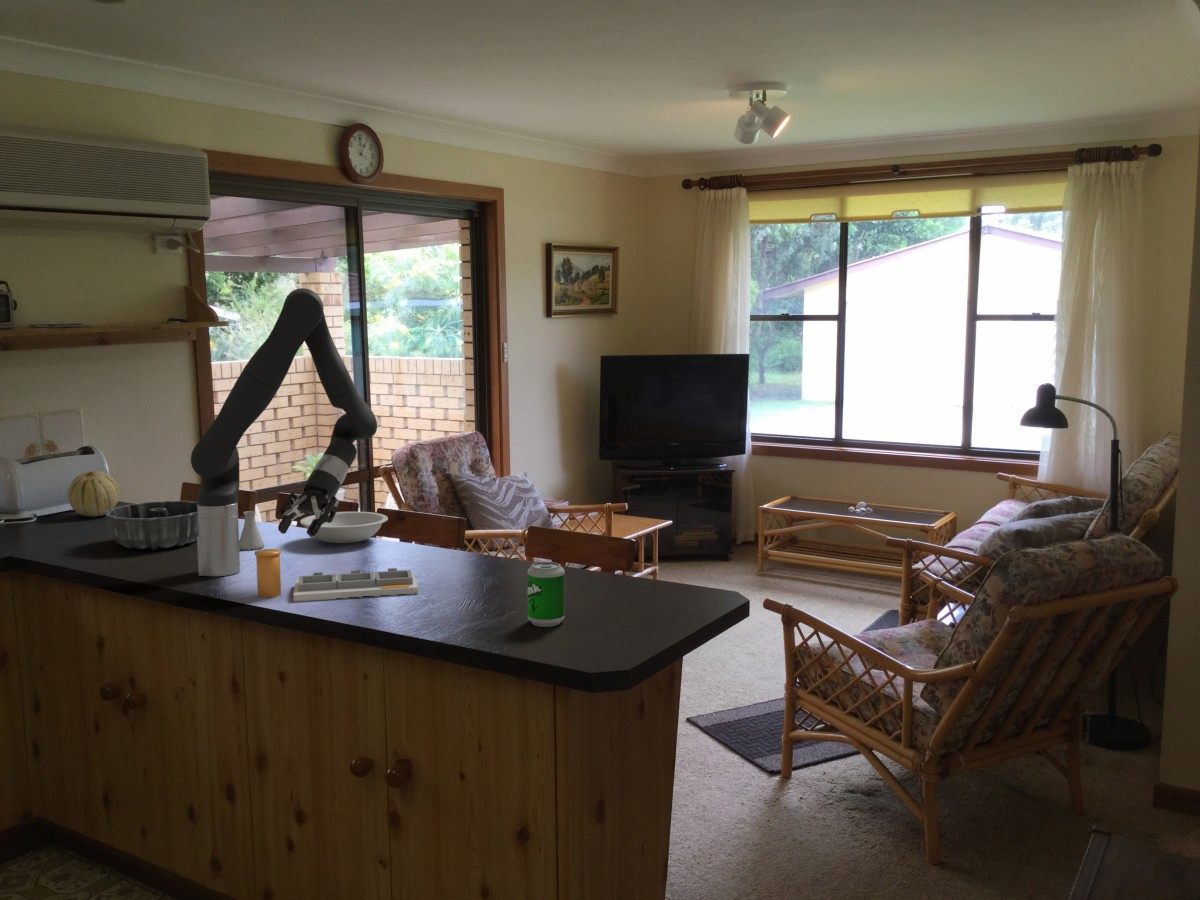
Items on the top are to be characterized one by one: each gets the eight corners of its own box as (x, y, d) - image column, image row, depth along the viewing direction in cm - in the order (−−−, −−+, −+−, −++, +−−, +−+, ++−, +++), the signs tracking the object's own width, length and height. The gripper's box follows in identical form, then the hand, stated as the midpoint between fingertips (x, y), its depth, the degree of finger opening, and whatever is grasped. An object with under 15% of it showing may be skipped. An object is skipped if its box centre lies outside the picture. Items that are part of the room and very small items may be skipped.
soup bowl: (381, 531, 295) (380, 509, 294) (394, 547, 272) (394, 523, 272) (297, 536, 286) (296, 514, 285) (304, 553, 264) (303, 529, 263)
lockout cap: (255, 599, 219) (253, 554, 218) (257, 592, 224) (255, 549, 223) (281, 597, 220) (280, 553, 219) (283, 591, 226) (281, 548, 224)
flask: (235, 551, 267) (234, 514, 265) (238, 545, 273) (236, 510, 272) (264, 550, 268) (262, 513, 267) (265, 544, 275) (264, 509, 274)
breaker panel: (293, 601, 217) (293, 587, 216) (296, 585, 230) (295, 572, 230) (418, 593, 224) (418, 580, 223) (413, 578, 237) (413, 566, 237)
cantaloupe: (113, 510, 326) (111, 465, 325) (126, 517, 315) (123, 470, 314) (63, 515, 317) (61, 469, 315) (74, 522, 306) (72, 474, 304)
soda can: (564, 617, 206) (564, 560, 204) (564, 627, 198) (564, 569, 197) (528, 617, 206) (528, 560, 204) (526, 628, 198) (526, 569, 197)
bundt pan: (176, 556, 261) (174, 518, 260) (85, 552, 265) (83, 515, 264) (228, 536, 287) (227, 502, 286) (145, 532, 291) (144, 499, 290)
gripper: (295, 466, 238) (263, 521, 229) (343, 470, 232) (311, 526, 223) (311, 485, 243) (280, 539, 234) (358, 489, 237) (327, 545, 228)
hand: (295, 533), depth 229 cm, fingers open, 8 cm apart
